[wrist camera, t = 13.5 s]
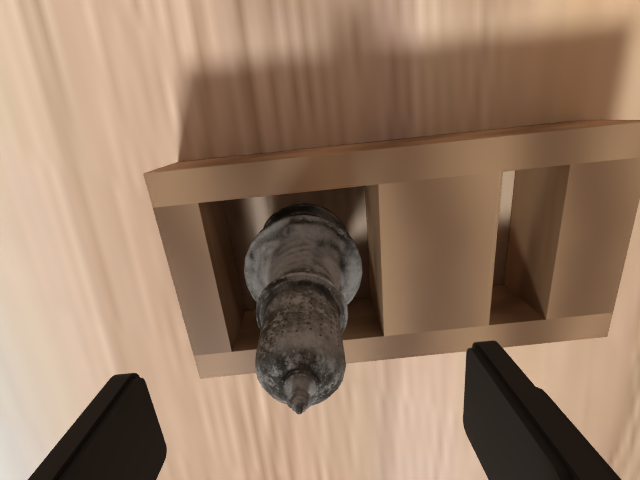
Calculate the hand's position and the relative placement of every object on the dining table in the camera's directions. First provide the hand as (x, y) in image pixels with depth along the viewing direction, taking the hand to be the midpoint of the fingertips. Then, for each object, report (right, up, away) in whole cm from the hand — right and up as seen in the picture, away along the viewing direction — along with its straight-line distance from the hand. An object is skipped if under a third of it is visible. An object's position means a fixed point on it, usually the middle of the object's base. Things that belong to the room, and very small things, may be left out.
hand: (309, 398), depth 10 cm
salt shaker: (-1, +4, +10) cm, 11 cm away
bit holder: (+4, +5, +10) cm, 12 cm away
